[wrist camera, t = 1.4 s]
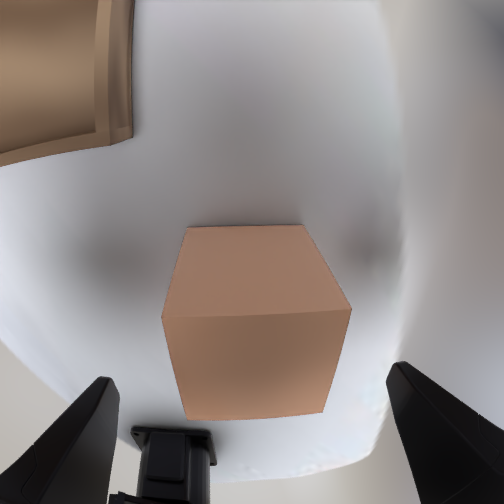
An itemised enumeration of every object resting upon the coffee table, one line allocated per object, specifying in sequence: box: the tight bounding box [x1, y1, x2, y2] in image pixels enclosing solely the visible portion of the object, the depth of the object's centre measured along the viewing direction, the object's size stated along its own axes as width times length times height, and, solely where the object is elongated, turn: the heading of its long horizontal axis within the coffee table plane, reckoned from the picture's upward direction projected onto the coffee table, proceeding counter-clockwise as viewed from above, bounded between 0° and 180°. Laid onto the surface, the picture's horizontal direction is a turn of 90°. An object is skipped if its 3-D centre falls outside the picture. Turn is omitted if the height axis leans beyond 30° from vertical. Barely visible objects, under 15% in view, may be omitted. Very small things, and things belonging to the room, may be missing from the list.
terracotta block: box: [161, 225, 352, 420], centre depth 11 cm, size 5×5×6 cm
